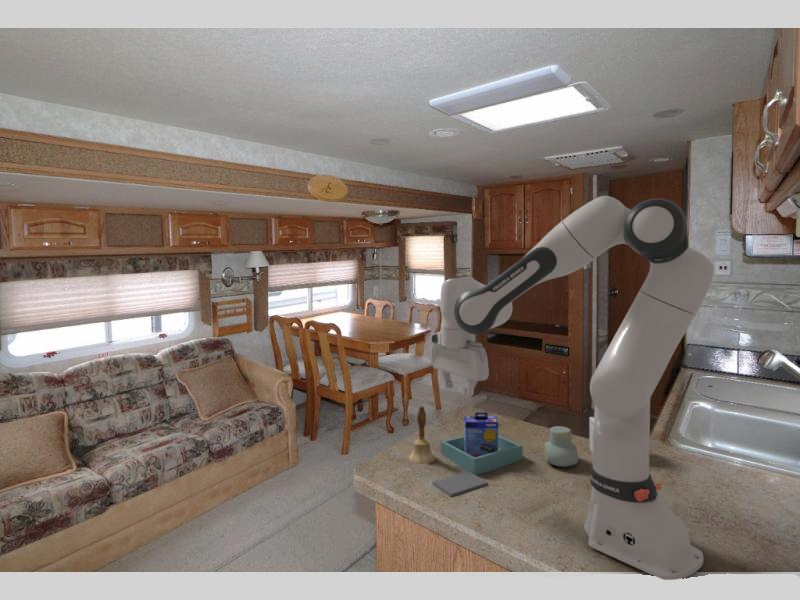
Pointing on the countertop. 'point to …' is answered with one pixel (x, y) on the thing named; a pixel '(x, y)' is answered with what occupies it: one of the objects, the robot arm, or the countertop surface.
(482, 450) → the ink cartridge box
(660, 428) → the countertop surface
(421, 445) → the hand bell
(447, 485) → the mat
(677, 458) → the countertop surface
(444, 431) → the countertop surface
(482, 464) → the bin
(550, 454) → the air freshener
